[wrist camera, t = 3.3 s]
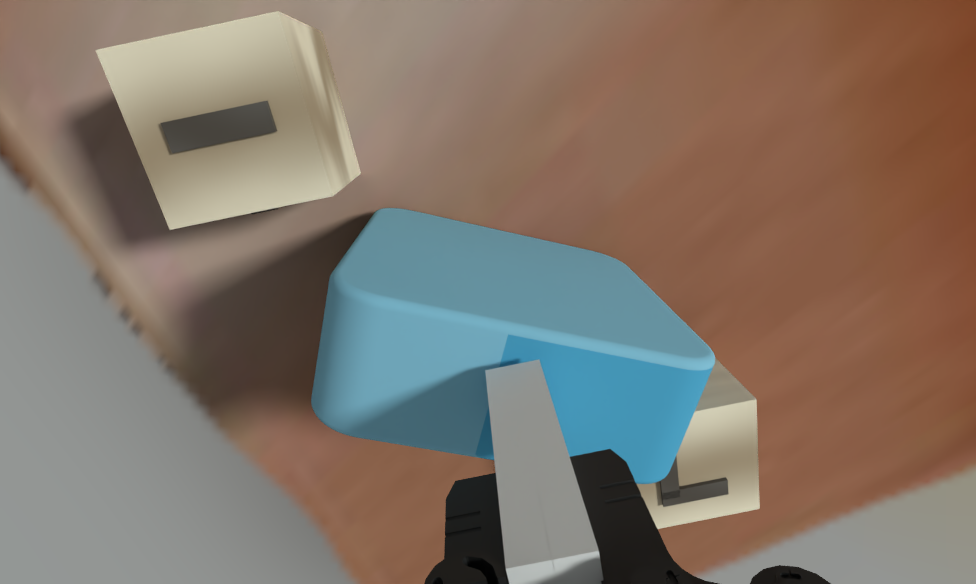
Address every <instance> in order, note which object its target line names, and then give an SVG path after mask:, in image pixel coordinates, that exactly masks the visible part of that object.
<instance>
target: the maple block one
mask: <svg viewBox="0 0 976 584" xmlns="http://www.w3.org/2000/svg"><path fill="white" fill-rule="evenodd" d="M96 52H97V55H98V57H99V60H100V62H101V64H102V67H103V69H104V72H105V74H106V76H107V79H108V81H109V84H110V86H111V89H112V91H113V93H114V96H115V98H116V101H117V103H118V106H119V108H120V110H121V113H122V115H123V118H124V120H125V123H126V125H127V127H128V130H129V132H130V135H131V137H132V140H133V142H134V144H135V147H136V149H137V152H138V154H139V156H140V159H141V161H142V164H143V166H144V169H145V171H146V173H147V176H148V178H149V181H150V183H151V186H152V188H153V190H154V193H155V195H156V198H157V200H158V203H159V205H160V207H161V210H162V212H163V215H164V217H165V219H166V222H167V224H168V227H169V229H170V230H172V229H177V228H182V227H186V226H191V225H196V224H201V223H206V222H210V221H215V220H220V219H225V218H230V217H235V216H239V215H244V214H249V213H251V214H256V213H261V212H265V211H270V210H275V209H278V208H280V207H283V206H288V205H292V204H297V203H302V202H307V201H312V200H316V199H321V198H326V197H331V196H334V195H335V194H336V193H338V192H339V191H340V190H341V189H343V188H344V187H345V186H346V185H348V184H349V183H350V182H351V181H352V180H354V179H355V178H356V177H357V176H359V175H360V174H361V172H360V169H359V165H358V161H357V158H356V154H355V150H354V147H353V143H352V140H351V136H350V132H349V129H348V125H347V121H346V118H345V114H344V110H343V107H342V103H341V100H340V96H339V92H338V89H337V85H336V81H335V78H334V74H333V71H332V67H331V63H330V60H329V56H328V52H327V49H326V45H325V41H324V38H323V34H322V32H321V31H319V30H317V29H315V28H313V27H310V26H308V25H306V24H304V23H302V22H300V21H298V20H296V19H294V18H292V17H290V16H287V15H285V14H283V13H281V12H279V11H277V12H272V13H267V14H263V15H258V16H253V17H248V18H244V19H239V20H234V21H230V22H225V23H220V24H216V25H211V26H206V27H202V28H197V29H192V30H188V31H183V32H178V33H173V34H169V35H164V36H159V37H155V38H150V39H145V40H141V41H136V42H131V43H127V44H122V45H117V46H113V47H108V48H103V49H99V50H96Z"/></svg>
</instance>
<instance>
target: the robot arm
mask: <svg viewBox="0 0 976 584" xmlns="http://www.w3.org/2000/svg"><path fill="white" fill-rule="evenodd" d="M485 373H486V383H487V393H488V402H489V412H490V422H491V432H492V441H493V451H494V461H495V470H496V473H493V474H488V475H483V476H478V477H473V478H468V479H463V480H458V481H455V483H454V485H453V487H452V489H451V491H450V492H449V494H448V496H447V498H446V522H445V536H446V538H445V556H444V560H443V561H441V562H440V563H438V564H437V565H436V566H435V567H434V568H433V570H432V571H431V572H430V574H429V575H428V577H427V578H426V580H425V584H718V583H713V582H708V581H704V580H702V579H699V578H697V577H694V576H692V575H691V574H689V573H688V572H686V571H685V570H683V569H682V568H681V567H680V566H679V565H678V564H677V563H676V562H674V561H673V559H672V557H671V556H670V554H669V553H668V551H667V549H666V547H665V545H664V542H663V540H662V538H661V536H660V534H659V532H658V529H657V527H656V525H655V523H654V521H653V519H652V516H651V514H650V512H649V510H648V508H647V506H646V503H645V501H644V499H643V497H642V496H641V493H640V490H639V488H638V486H637V484H636V483H635V480H634V477H633V475H632V473H631V471H630V469H629V467H628V464H627V462H626V461H625V460H623V459H622V458H621V457H620V456H619V455H617V454H616V453H615V452H614V451H612V450H611V449H607V450H601V451H596V452H591V453H586V454H581V455H576V456H571V457H569V453H568V450H567V447H566V444H565V441H564V437H563V434H562V431H561V428H560V425H559V421H558V418H557V415H556V412H555V408H554V405H553V402H552V399H551V396H550V392H549V389H548V386H547V383H546V380H545V376H544V373H543V370H542V367H541V363H540V360H534V361H529V362H524V363H519V364H514V365H509V366H504V367H499V368H494V369H489V370H485ZM750 584H830V583H829V582H828V581H826V580H825V579H823V578H822V577H820V576H819V575H817V574H815V573H812V572H810V571H807V570H804V569H802V568H799V567H790V566H780V565H779V566H775V567H771V568H766V569H763V570H762V571H760V572H759V573H758V574H757V575H755V576H754V577H753V578H752V581H751V583H750Z"/></svg>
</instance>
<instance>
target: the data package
mask: <svg viewBox="0 0 976 584" xmlns="http://www.w3.org/2000/svg"><path fill="white" fill-rule="evenodd" d="M534 360H540V363H541V367H542V370H543V373H544V376H545V380H546V383H547V386H548V389H549V392H550V396H551V399H552V402H553V405H554V408H555V412H556V415H557V418H558V421H559V425H560V428H561V431H562V434H563V437H564V441H565V444H566V447H567V450H568V453H569V457H571V456H576V455H581V454H586V453H591V452H596V451H601V450H607V449H611V450H612V451H614V452H615V453H616V454H617V455H619V456H620V457H621V458H622V459H623V460H625V461H626V462H627V464H628V467H629V469H630V471H631V473H632V475H633V477H634V480H635V483H636V484H651V483H656V482H658V481H661V480H662V479H664V478H665V477H666V476H667V475H668V474H669V472H670V469H671V467H672V465H673V462H674V460H675V457H676V455H677V453H678V450H679V448H680V445H681V443H682V441H683V438H684V436H685V433H686V431H687V429H688V426H689V424H690V421H691V419H692V417H693V414H694V412H695V409H696V407H697V405H698V402H699V400H700V397H701V395H702V393H703V390H704V388H705V386H706V383H707V381H708V378H709V376H710V374H711V371H712V369H713V366H714V364H715V356H714V353H713V351H712V350H711V348H710V347H709V346H708V345H707V344H706V343H705V342H704V341H703V340H702V339H701V338H700V337H699V336H698V335H697V334H696V333H695V332H694V331H693V330H692V329H691V328H690V327H689V326H688V325H687V324H686V323H684V322H683V321H682V320H681V319H680V318H679V317H678V316H677V315H676V314H675V313H674V312H673V311H672V310H671V309H670V308H669V307H668V306H667V305H666V304H665V303H664V302H663V301H662V300H661V299H660V298H659V297H658V296H657V295H656V294H655V293H654V292H653V291H652V290H651V289H650V288H649V287H648V286H647V285H646V284H645V283H644V282H643V281H642V280H641V279H640V278H639V277H638V276H637V275H636V274H635V273H634V272H633V271H632V270H631V269H630V268H629V267H628V266H627V265H625V264H624V263H622V262H621V261H619V260H617V259H615V258H612V257H610V256H607V255H604V254H601V253H598V252H594V251H590V250H586V249H581V248H577V247H573V246H568V245H564V244H559V243H555V242H550V241H546V240H541V239H537V238H532V237H528V236H523V235H519V234H514V233H510V232H505V231H501V230H496V229H492V228H487V227H483V226H479V225H474V224H470V223H465V222H461V221H456V220H452V219H447V218H443V217H438V216H434V215H429V214H425V213H420V212H416V211H411V210H405V209H397V208H384V209H379V210H377V211H376V212H375V213H374V214H373V216H372V217H371V219H370V220H369V221H368V223H367V224H366V226H365V227H364V228H363V230H362V231H361V233H360V234H359V235H358V237H357V238H356V240H355V241H354V242H353V244H352V245H351V247H350V248H349V250H348V251H347V252H346V254H345V255H344V257H343V258H342V259H341V261H340V262H339V264H338V265H337V266H336V268H335V269H334V271H333V272H332V274H331V276H330V279H329V285H328V292H327V298H326V305H325V312H324V318H323V325H322V332H321V338H320V345H319V351H318V358H317V365H316V371H315V378H314V385H313V391H312V399H311V403H312V408H313V410H314V413H315V414H316V416H317V417H318V418H319V419H320V420H321V421H322V422H323V423H324V424H325V425H327V426H328V427H330V428H331V429H333V430H335V431H337V432H340V433H342V434H345V435H349V436H353V437H358V438H364V439H370V440H376V441H382V442H388V443H394V444H400V445H406V446H412V447H418V448H424V449H430V450H436V451H442V452H448V453H454V454H460V455H466V456H472V457H478V458H484V459H490V460H494V451H493V441H492V432H491V422H490V412H489V402H488V393H487V383H486V373H485V370H489V369H494V368H499V367H504V366H509V365H514V364H519V363H524V362H529V361H534Z"/></svg>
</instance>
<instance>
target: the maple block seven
mask: <svg viewBox="0 0 976 584" xmlns="http://www.w3.org/2000/svg"><path fill="white" fill-rule="evenodd" d="M637 486H638V488H639V490H640V493H641V496H642V497H643V499H644V501H645V503H646V506H647V508H648V510H649V512H650V514H651V516H652V519H653V521H654V523H655V525H656V527H657V529H660V528H665V527H670V526H675V525H680V524H685V523H690V522H695V521H700V520H705V519H710V518H715V517H720V516H726V515H731V514H736V513H741V512H746V511H751V510H756V509H760V508H759V474H758V439H757V404H756V398H755V397H754V396H753V395H752V394H751V393H750V392H749V391H748V390H747V389H746V388H745V387H744V386H743V385H742V384H741V383H740V382H739V381H738V380H737V379H736V378H735V377H734V376H733V375H732V374H731V373H730V372H729V371H728V370H727V369H726V368H725V367H724V366H723V365H722V364H721V363H720V362H719V361H718V360H717V359H716V358H715V364H714V366H713V369H712V371H711V374H710V376H709V378H708V381H707V383H706V386H705V388H704V390H703V393H702V395H701V397H700V400H699V402H698V405H697V407H696V409H695V412H694V414H693V417H692V419H691V421H690V424H689V426H688V429H687V431H686V433H685V436H684V438H683V441H682V443H681V445H680V448H679V450H678V453H677V455H676V457H675V460H674V462H673V465H672V467H671V469H670V472H669V474H668V475H667V476H666V477H665V478H664V479H662V480H661V481H658V482H656V483H651V484H637Z"/></svg>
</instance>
